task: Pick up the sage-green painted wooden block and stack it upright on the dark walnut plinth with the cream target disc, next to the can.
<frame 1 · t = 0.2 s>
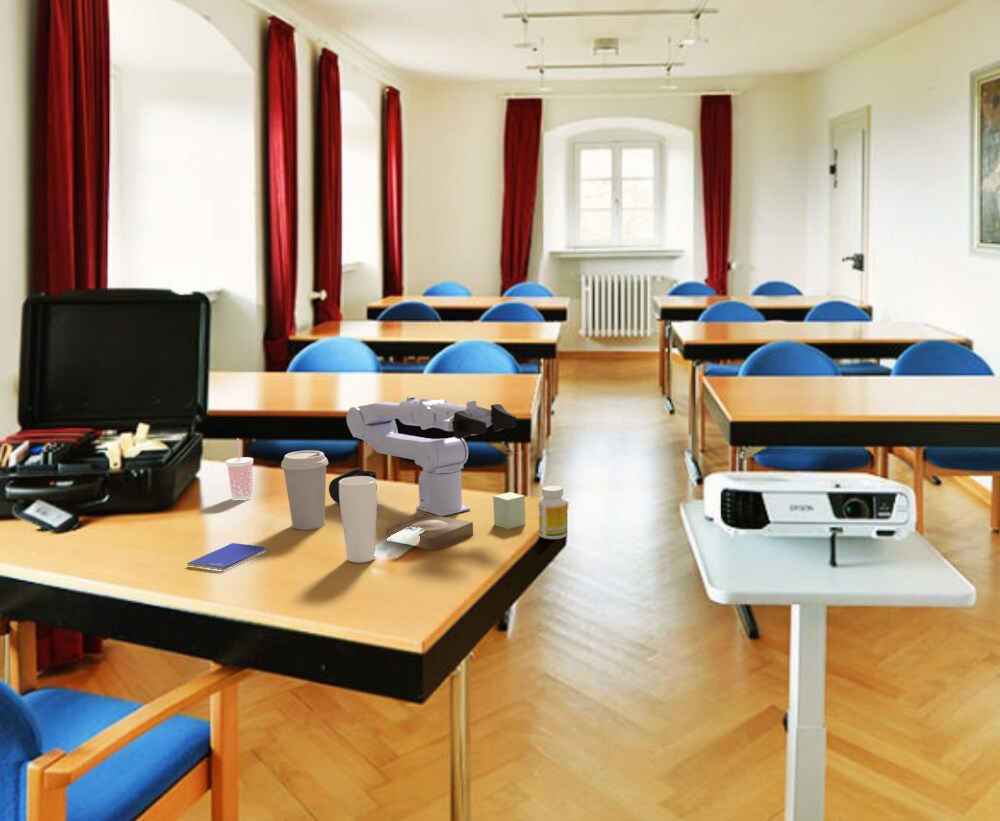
hand: (500, 424, 201), 21 cm above the table, tool horizontal, fingers open, 7 cm apart
beverage cup: (242, 499, 234), on the table
coffee cup: (308, 526, 211), on the table
drinking glass: (361, 560, 187), on the table
block: (509, 524, 207), on the table
blue notebook: (227, 563, 190), on the table
end cap: (354, 502, 229), on the table
plinth: (430, 537, 200), on the table
supplement bottle: (553, 536, 199), on the table
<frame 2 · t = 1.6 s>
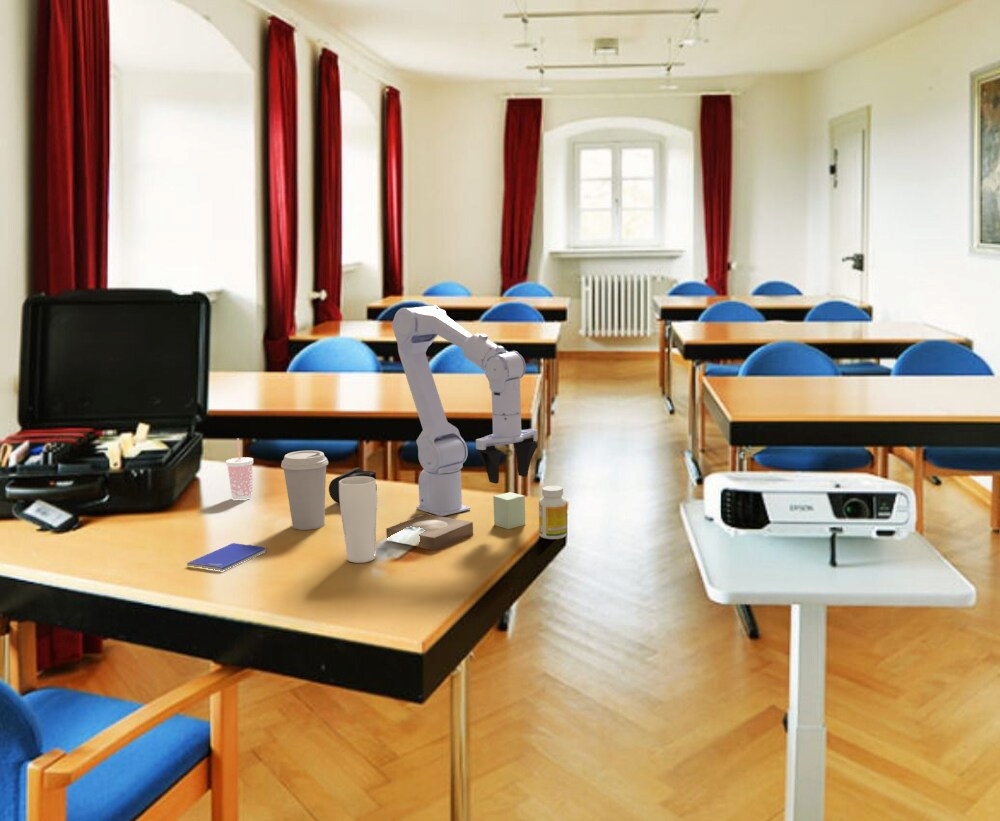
hand: (508, 479, 205), 9 cm above the table, tool pointing down, fingers open, 7 cm apart
nothing on the table moved.
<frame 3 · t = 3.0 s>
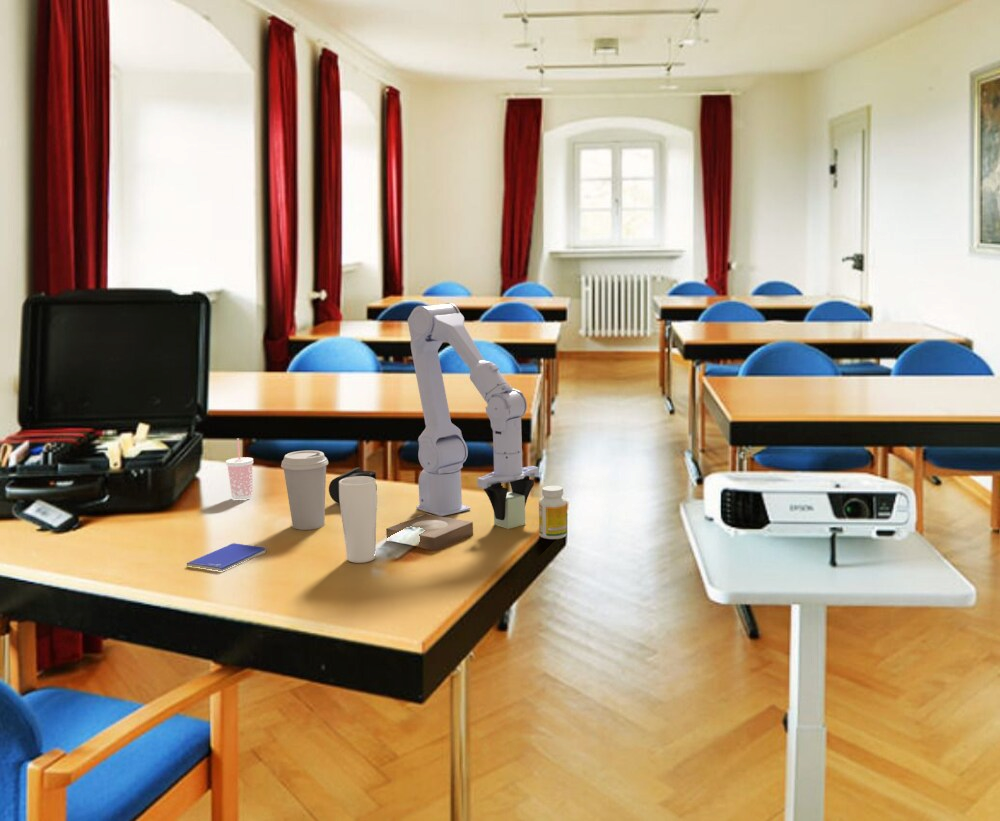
hand: (509, 516, 207), 2 cm above the table, tool pointing down, fingers closed on block, 4 cm apart
block: (509, 524, 207), on the table, touching gripper
everything else where it was.
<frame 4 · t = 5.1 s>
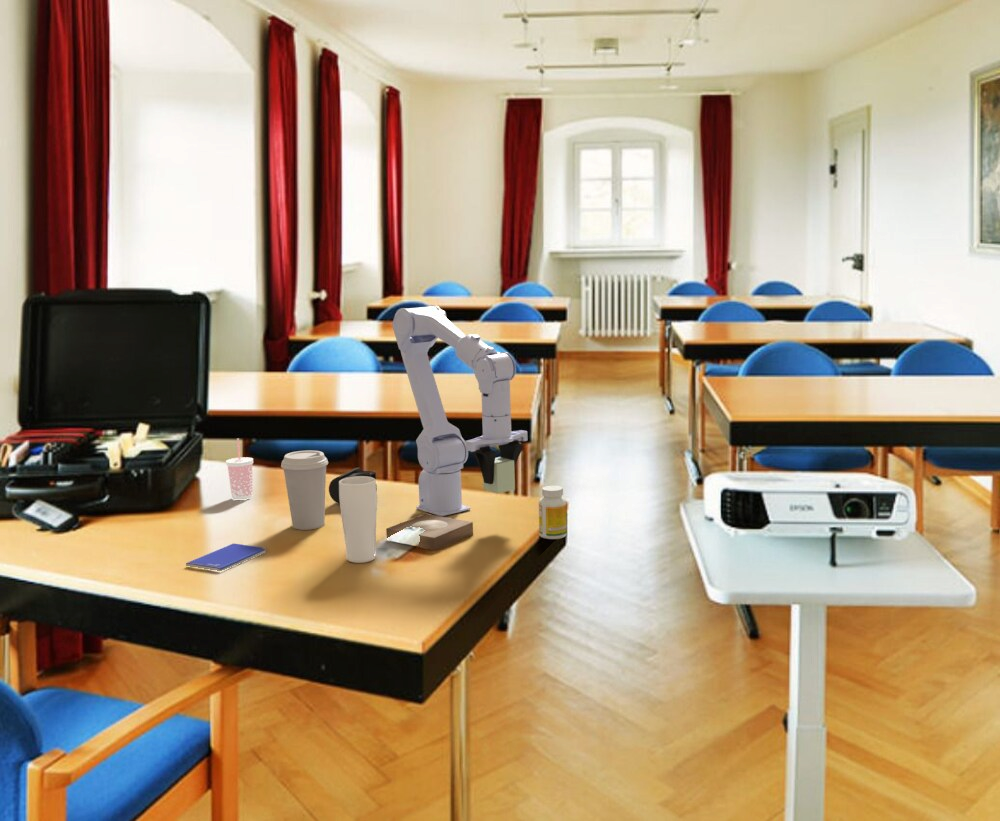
hand: (498, 480, 204), 9 cm above the table, tool pointing down, fingers closed on block, 4 cm apart
block: (499, 489, 205), point 8 cm above the table, touching gripper
everything else where it was.
when the fingers open (5 cm above the table, at t = 7.5 s): block stays where it is, resting on plinth.
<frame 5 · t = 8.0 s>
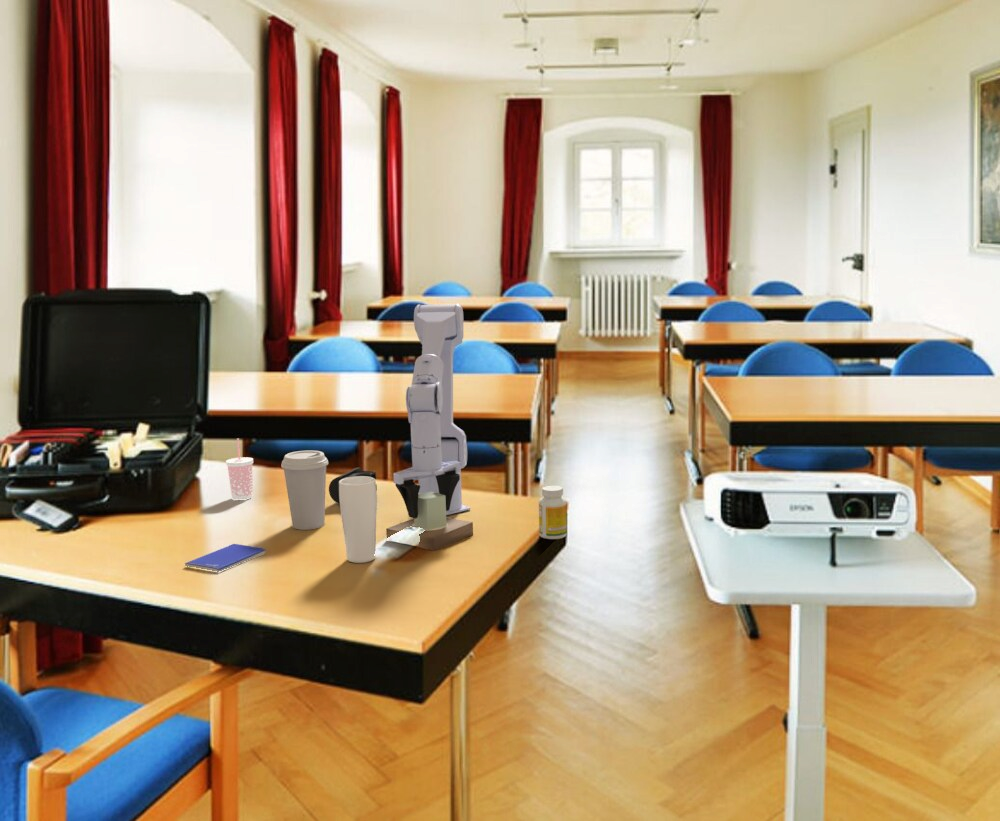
hand: (429, 513, 199), 5 cm above the table, tool pointing down, fingers open, 7 cm apart
block: (430, 525, 199), point 3 cm above the table, touching plinth
everything else where it was.
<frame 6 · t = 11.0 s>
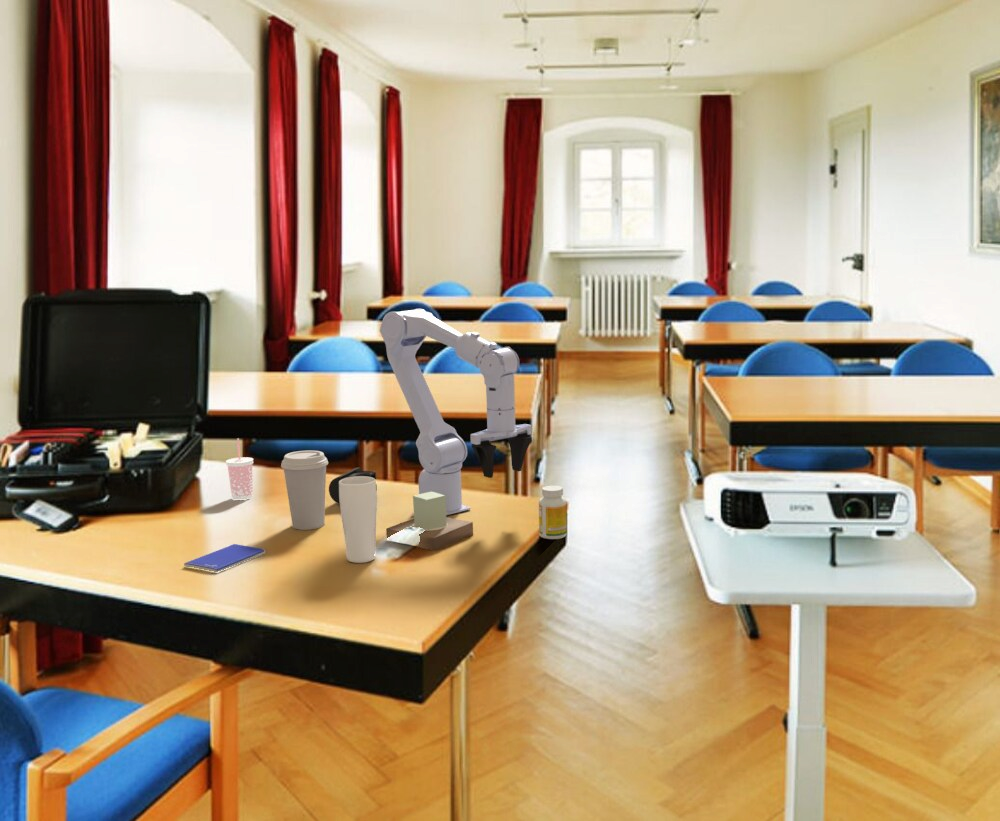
hand: (502, 473, 208), 10 cm above the table, tool pointing down, fingers open, 7 cm apart
nothing on the table moved.
at the end: block inside the target area on the plinth (0.2 cm from its centre), point 2.5 cm above the plinth's base; block tilted 0°; the gripper is holding nothing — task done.
